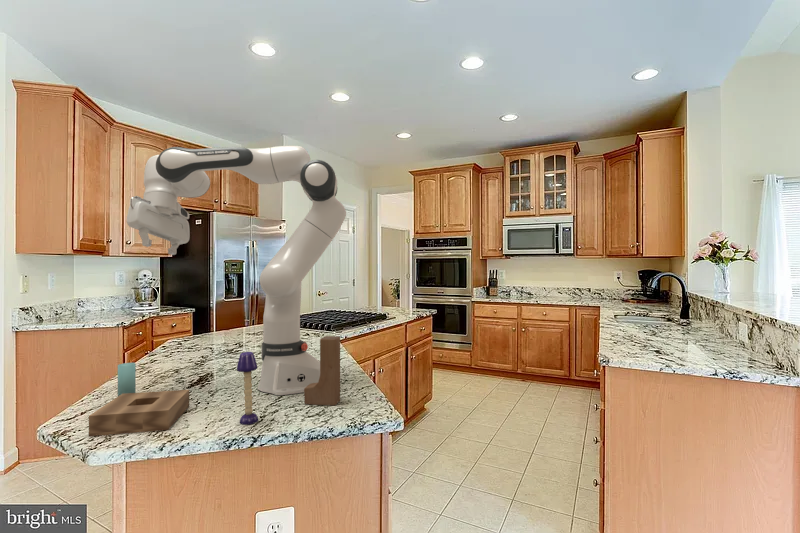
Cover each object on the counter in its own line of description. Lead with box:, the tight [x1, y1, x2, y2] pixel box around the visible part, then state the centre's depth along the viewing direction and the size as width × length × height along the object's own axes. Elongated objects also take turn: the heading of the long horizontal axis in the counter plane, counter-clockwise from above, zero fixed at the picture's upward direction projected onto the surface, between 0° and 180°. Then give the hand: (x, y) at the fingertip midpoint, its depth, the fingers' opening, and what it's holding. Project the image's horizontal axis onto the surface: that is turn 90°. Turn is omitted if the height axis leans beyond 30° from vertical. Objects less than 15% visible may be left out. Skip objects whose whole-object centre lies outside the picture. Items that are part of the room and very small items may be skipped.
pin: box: [117, 362, 137, 397], centre depth 109 cm, size 4×4×11 cm
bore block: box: [88, 389, 190, 437], centre depth 98 cm, size 16×16×4 cm
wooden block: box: [303, 335, 341, 406], centre depth 110 cm, size 9×4×18 cm, turn 82°
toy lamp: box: [236, 351, 259, 426], centre depth 96 cm, size 5×5×17 cm
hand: (160, 250), depth 117 cm, fingers open, 8 cm apart
